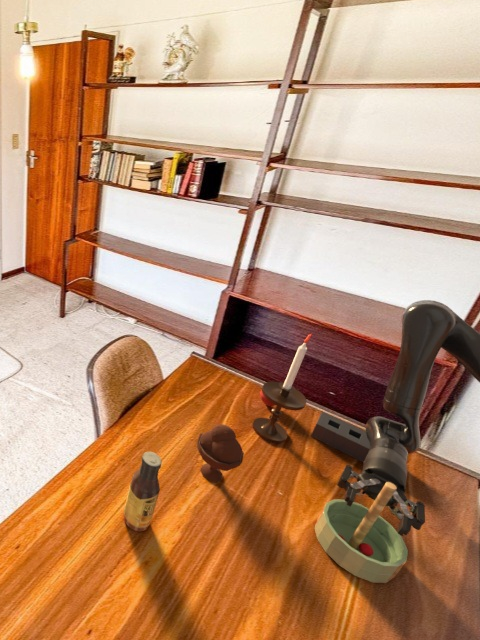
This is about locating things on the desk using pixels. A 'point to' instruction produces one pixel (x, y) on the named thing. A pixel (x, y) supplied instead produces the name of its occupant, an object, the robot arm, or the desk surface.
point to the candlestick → (281, 401)
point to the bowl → (380, 537)
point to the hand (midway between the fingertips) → (375, 517)
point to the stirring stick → (372, 515)
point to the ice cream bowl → (219, 452)
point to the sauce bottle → (143, 493)
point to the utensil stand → (342, 436)
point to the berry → (366, 549)
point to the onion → (265, 400)
